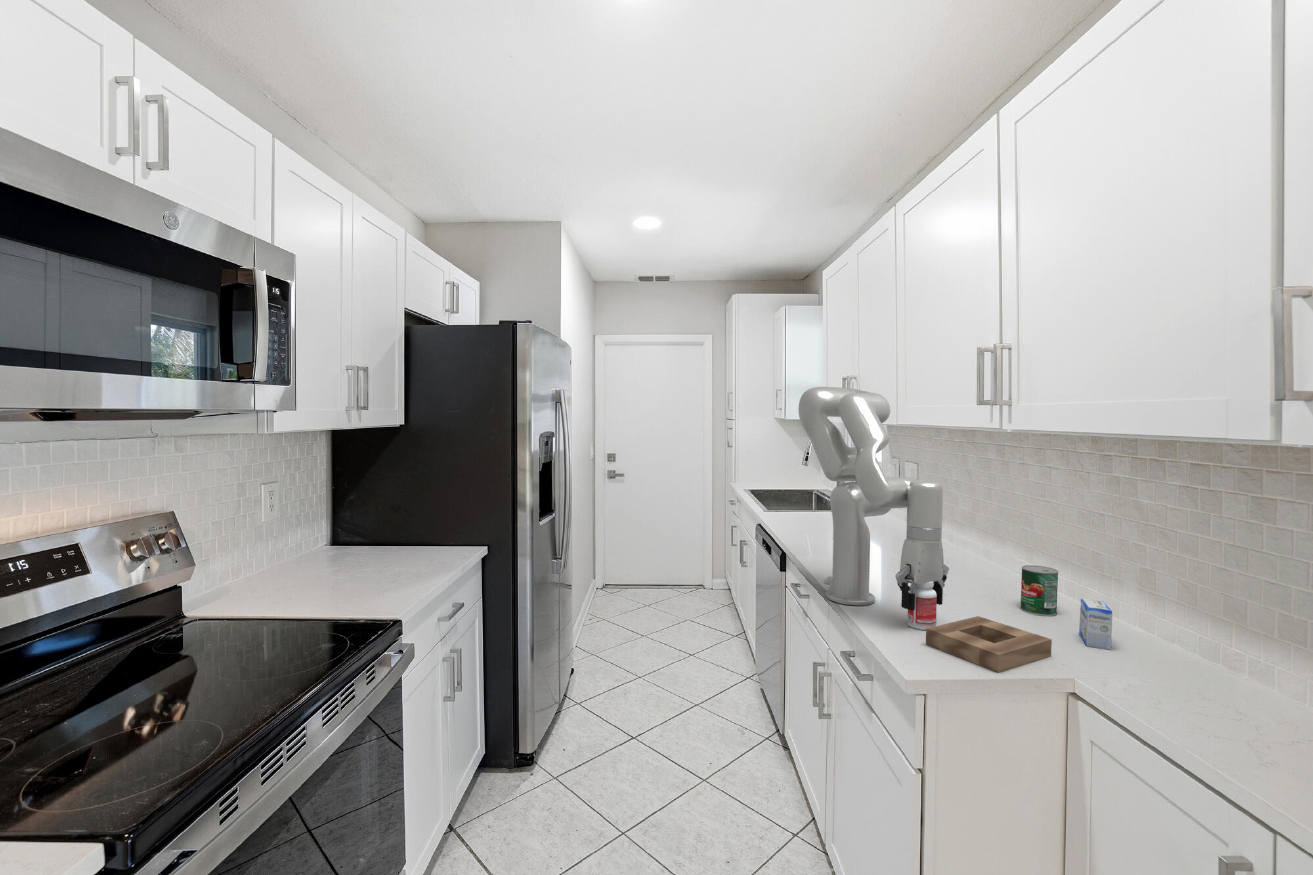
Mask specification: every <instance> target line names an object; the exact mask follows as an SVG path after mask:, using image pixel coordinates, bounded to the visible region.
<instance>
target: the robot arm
mask: <svg viewBox="0 0 1313 875" xmlns="http://www.w3.org/2000/svg"><path fill="white" fill-rule="evenodd" d="M798 401H799V403H798V416H799V417H798V418H799V421H800V424H801V425H802V428H803V430H804V432H805V433H806V435H807V437H808V438H809V440H810V443H811V445H812V447H813V450H814V452H815V455H816V458H817V460H818V462H819V465H820V467H821V470H822V472H823V474H824V475H825V478H826V479H827V480H829V481H831V482H841V483H840V484H838V485H836V486H835V487H834V488H833V489H832V490H831V492H830V497H829V504H830V511H831V516H832V529H833V530H832V532H833V533H832V534H833V535H832V536H833V537H832V541H833V542H832V546H833V547H832V576H831V575H829V576H827V577H826V578H825V579H824V580H823V584H824V585H827V586H829V589H828V590H827V591H826V592H825V596H826V598H827V599H828V600H830V601H832V602H834V603H838V604H842V605H847V606H869V605H873V604H874V603H875V601H876V596H875V595H874V594H873V593H871V592H870V572H871V571H870V569H871V568H870V566H871V565H870V564H871V563H870V562H871V533H870V532H871V531H870V528H869V526H868V524H867V522H866V520H865V518H866V517H868V518H869V517H880V516H883V515H886V514H887V513H889V512H890V511H891V509H906V534H905V536H906V537H905V539H904V540H903V543H902V544H903V545H902V549H901V556H900V566H899V571H898V572H897V573H896V574H895V580H896V582H897V586H898V587H899V590H900V591H901V603H900V606H901V608H903V609H905V610H907V611H908V610H911V611H913V610H915V593H913V591H914V589H915V588H916V586H917V584H924V583H927V582H934V586H933V588H932V589H933V590H934V591H935V592H936V594H937V605H939V606H940V605H943V602H944V601H943V600H944V598H943V596H944V595H943V594H944V592H943V590H944V588H945V583H946V582H947V578H948V573H949V570H950V568H949V566H948V565H946V564H944V548H943V547H944V546H943V541H942V537H943V536H942V534H943V501H944V500H943V499H944V498H943V495H944V494H943V492H944V489H943V485H942V484H941V483H940V482H938V481H933V480H932V481H931V480H919V479H917V478H913V477H909V476H907V477H906V476H905V477H904V476H901V477H900V476H899V477H897V476H895V477H886V476H885V473H884V471H883V469H882V466H881V465H880V463H879V461H878V458H877V456H876V454H878V453H879V452H881V451H882V450H883V449H885V448H886V447H887V446H888V444H889V442H890V436H889V434H888V432H887V430H886V429H885V426H884V425H883V424H884V423H885V422H886V421H887V420H888V419H889V418H890V414H891V406H890V403H889V401H888V400H887V399H886V397H884V396H883V395H882V394H880V393H875V392H870V391H866V390H862V389H857V388H852V387H835V386H834V387H833V386H817V387H811V388H808V389H806V390H805V391H804V392H803V394H802V395H801V397H800V398H799V400H798ZM828 417H831V418H833V417H835V418H841V421H842V423H843V425H844V427H845V429H846V431H847V434H848V435H849V437H850V439H851V440H852V442H853V445H854V447H851V446H848V445H847V443H846V442H845V439H844V438H843V435H842V432H841V431H840V429H839V428H838V427H837V426H836V425H835V424H834V423H833V422H832V421H831V420H830V419H829V418H828ZM842 482H844V483H842ZM912 579H914V580H912ZM909 584H910V585H909Z"/></svg>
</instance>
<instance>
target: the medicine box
mask: <svg viewBox="0 0 1313 875" xmlns="http://www.w3.org/2000/svg"><path fill="white" fill-rule="evenodd" d="M1079 611H1080V612H1079V630H1078V634H1079V636H1080V638H1081V639H1082V641H1083V642H1084V644H1085V646H1087V647H1089V648H1093V649H1094V648H1095V649H1100V648H1101V649H1102V650H1111V649H1112V637H1113V636H1112V632H1113V610H1111V608H1110V607H1109V606H1108V605H1107V603H1106V602H1105V601H1104V600H1100V599H1093V598H1085V597H1082V598H1080V610H1079Z"/></svg>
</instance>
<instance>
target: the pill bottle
mask: <svg viewBox="0 0 1313 875" xmlns="http://www.w3.org/2000/svg"><path fill="white" fill-rule="evenodd" d="M912 580H914V579H912ZM933 586H934V582H927V583H924V584H917V586H916V588H915V589H914V591H913V593H915V610H913V611H911V610H908V609H907V625H908V626H909V627H910V628H913V629H916V630H921V631H926V628H930V627H934V626H937V605H938V604H937V594H936V592H935V591H934V590H933V589H932V588H933Z"/></svg>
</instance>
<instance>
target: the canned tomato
mask: <svg viewBox="0 0 1313 875" xmlns="http://www.w3.org/2000/svg"><path fill="white" fill-rule="evenodd" d="M1058 582H1059V570H1058V569H1056V568H1054V567H1049V566H1044V565H1035V564H1034V565H1031V564H1027V565H1022V566H1021V582H1020V583H1021V584H1020V587H1021V588H1020V607H1019V608H1020V610H1021V611H1022V612H1024V613H1026V614H1030V615H1036V616H1042V617H1054V616H1057V614H1058V613H1057V612H1058V611H1057V610H1058V609H1057V608H1058V589H1059V588H1058V586H1059V584H1058Z"/></svg>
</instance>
